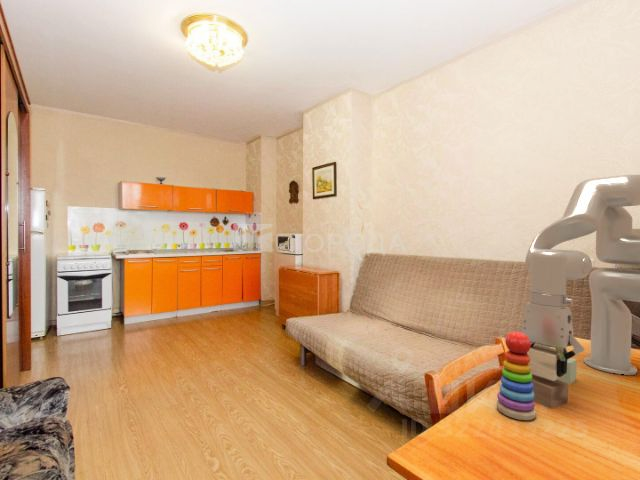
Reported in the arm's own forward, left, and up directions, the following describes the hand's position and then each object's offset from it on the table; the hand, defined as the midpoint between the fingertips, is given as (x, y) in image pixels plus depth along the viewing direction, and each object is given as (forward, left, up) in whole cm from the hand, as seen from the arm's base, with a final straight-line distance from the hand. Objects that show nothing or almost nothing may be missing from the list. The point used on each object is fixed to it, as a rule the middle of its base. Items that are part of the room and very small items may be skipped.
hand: (545, 369), depth 82 cm
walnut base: (0, 0, -8) cm, 8 cm away
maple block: (0, 0, -1) cm, 1 cm away
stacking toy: (+13, -1, -8) cm, 15 cm away
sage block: (-18, -2, -7) cm, 20 cm away
